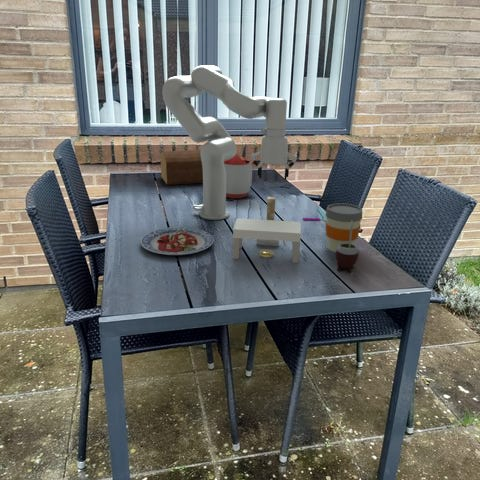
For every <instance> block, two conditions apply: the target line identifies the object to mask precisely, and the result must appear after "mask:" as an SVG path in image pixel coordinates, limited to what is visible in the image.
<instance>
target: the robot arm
mask: <svg viewBox="0 0 480 480" xmlns="http://www.w3.org/2000/svg"><path fill="white" fill-rule="evenodd" d="M161 91H162V99H163V102H164V104H165V106H166V108H167V109H168V111H169V112H170V113H171V114H172V115H173V117H174V118H175V120H177V121H178V123H179V124H180V126H181V127H182V129H183V130H184V131H185V132H186V134H187V135H188V136H189V138H190V139H191V140H192V141H193V142H195V143H203V145H202V147H201V149H200V150H201V161H202V167H203V183H202V201H203V202H202V203H201V204H193V205H192V209H193V210H194V211H199V217H200V218H201V219H204V220H211V221H219V220H224V219H227V218H229V217H230V212H229V211H228V210H227V209H226V208H227V207H226V206H227V205H226V204H227V203H226V202H227V197H226V170H225V166H224V161H227V160H229V159H231V158H233V157H234V156H235V155H236V154H237V149H238V148H237V145H236V143H235V140H234V139H233V138H232V136H231V134H230V133H229V132H228V131H227V130H226V128H225V126H224V125H223V124H222V123H221V122H220V121H219V120H218V119H216V118H215V117H213V116H204V117H203V116H201V114H200V113H199V111H198V110H197V109H196V108H195V107H194V106H193V105H192V104H191V103H190V102H189V101H188V100H186V98H187V99H188V98H194V97H198V96H200V95H203V94H204V93H207V94H209V95H210V96H212V97H214V98H216V99H218V100H219V101H220V102H222V104H223V105H224V106H225V107H226V108H227V109H228V110H229V111H231V112H233V113H235V114H236V115H238V116H240V117H242V118H244V119H248V120H252V119H258V118H262V117H265V119H264V120H265V123H264V124H265V126H264V128H263V129H260V130H261V131H260V133H261V134H263V136H262V138H261V145H260V151H258V152H255V153H253V154H251V155H250V159H251V161H253V162H252V164H254V166H255V167H256V168H257V176H258V178H259V179H262V175H263V171H262V170H263V169H262V168H263V165H274V166H275V165H278V166H282V165H283V166H284V167H285V168H284V180H285V181H287V178H288V177H289V176H290V175H289V170H290V168H292V167H293V166H294V164H295V163H296V161H297V160H298V157H297V156H296V155H294V154H292V153H290V152H289V149H288V148H289V146H288V145H289V144H288V143H289V142H288V137H287V136H286V129H287V128H286V124H287V110H288V102H287V100H286V99H285V98H281V97H268V96H264V95H258V96H248V95H245V94H244V93H242V92H240V91H238V90H237V89H236V88H235V83H234V81H233V79H231V78H229V77H227V76H225V75H224V74H223V72H222V70H221V69H220V68H219V67H218V66H216V65H210V64H209V65H208V64H207V65H206V64H205V65H198V66H196V67H195V68H193V70H192V71H191V74H190V75H178V76H177V75H176V76H172V77H169V78H167V79H166V80H165V81H164V84H163V85H162V90H161ZM258 157H260V158H259V161H258V160H257V158H258ZM288 158H290V159H291V161H290V162H289V163H288Z"/></svg>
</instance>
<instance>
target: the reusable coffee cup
mask: <svg viewBox="0 0 480 480" xmlns="http://www.w3.org/2000/svg"><path fill="white" fill-rule="evenodd" d="M325 211H326V212H325V217H326V218H327V221H325V234H326V235H325V236H326V237H327V238H326V239H327V249H328V250H329V251H330V250H331V251H330V252H333V253H336V251H337V248H338V247H339V245H341V244H344V243H346V244H349V239H350V229H351V220H353V227H352V229H353V230H352V237H351V244H352V245H354V246H355V243H356V240H357V239H358V236H359V233H360V229H361V221H362V219H363V209H362V207H360V206H358V205H355V204H351V203H344V202H342V203H340V202H339V203H338V202H337V203H332V204H329V205H327V207H326V210H325Z"/></svg>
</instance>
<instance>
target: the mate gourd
mask: <svg viewBox="0 0 480 480" xmlns="http://www.w3.org/2000/svg"><path fill="white" fill-rule="evenodd" d="M352 227H353V220H351V229H350V239H349V244H346V243H344V244H341V245H339V247H338V248H337V251H336V252H335V260H336V262H337V263H336V264H337V268H336V271H337V272H340V271H346V272H347V273H349V274H352V273H353V271H352V269H354V266H355V265H356V263H357V261H358V259H359V250H358V248H357V247H356V245H355V244H354V245H352V244H351V237H352V230H353V229H352Z"/></svg>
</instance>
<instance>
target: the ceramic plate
mask: <svg viewBox="0 0 480 480" xmlns="http://www.w3.org/2000/svg"><path fill="white" fill-rule="evenodd" d="M213 244H214V237H213V236H212V234H210V233H209V232H207V231H205V230H202V229H198V228H195V227H194V228H193V227H186V226H174V227H173V226H172V227H164V228H159V229H155V230H153V231H150V232H147V233H146V234H144V235H143V236H141V239H140V245H141V247H142V248H143V249H145V250H147V251H149V252H152V253H155V254H160V255H167V256H183V255H191V254H195V253H199V252H203V251H205V250H207V249H208V248H210V247H211V246H212V245H213Z"/></svg>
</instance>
